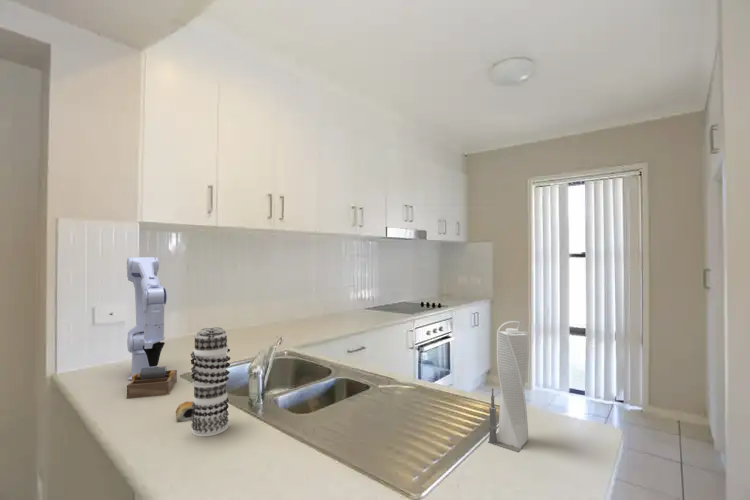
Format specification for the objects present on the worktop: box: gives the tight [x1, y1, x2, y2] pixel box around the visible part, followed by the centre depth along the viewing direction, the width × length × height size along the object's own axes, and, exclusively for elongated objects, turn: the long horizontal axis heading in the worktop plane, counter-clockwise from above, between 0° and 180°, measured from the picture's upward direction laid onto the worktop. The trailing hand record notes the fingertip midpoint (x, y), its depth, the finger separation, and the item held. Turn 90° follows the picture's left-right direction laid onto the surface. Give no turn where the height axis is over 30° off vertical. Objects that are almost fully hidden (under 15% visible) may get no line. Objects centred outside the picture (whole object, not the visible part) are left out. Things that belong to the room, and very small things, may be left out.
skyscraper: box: [487, 320, 530, 453], centre depth 88 cm, size 8×8×28 cm
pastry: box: [175, 400, 194, 422], centre depth 104 cm, size 9×7×4 cm
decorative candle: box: [190, 326, 231, 438], centre depth 95 cm, size 9×9×25 cm
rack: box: [126, 369, 178, 400], centre depth 123 cm, size 14×11×5 cm
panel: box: [141, 366, 167, 380], centre depth 123 cm, size 2×7×6 cm, turn 108°
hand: (153, 366), depth 124 cm, fingers closed
